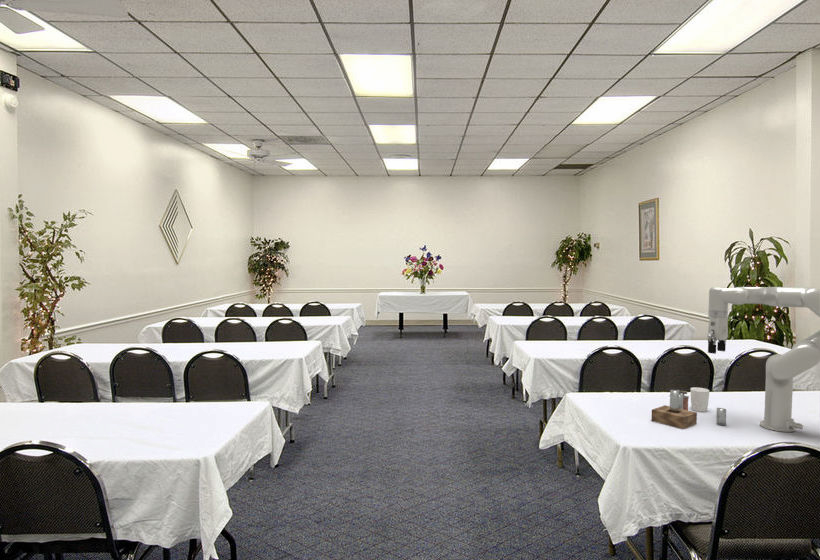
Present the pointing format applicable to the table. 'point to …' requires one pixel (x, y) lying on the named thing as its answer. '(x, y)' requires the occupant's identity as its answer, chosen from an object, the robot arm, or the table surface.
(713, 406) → the table surface
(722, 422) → the short pin
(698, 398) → the white cup
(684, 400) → the silver copper upright piece
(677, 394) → the long pin
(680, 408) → the medium pin
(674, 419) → the socket block
